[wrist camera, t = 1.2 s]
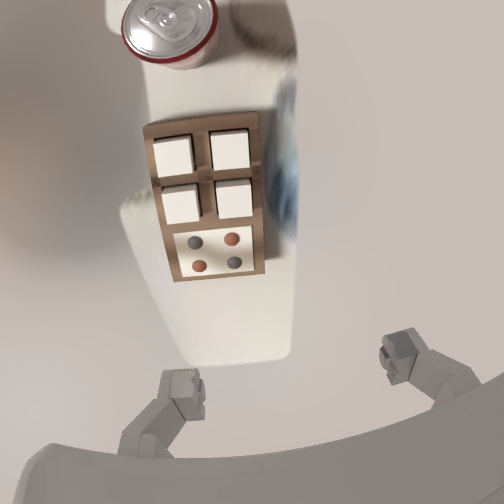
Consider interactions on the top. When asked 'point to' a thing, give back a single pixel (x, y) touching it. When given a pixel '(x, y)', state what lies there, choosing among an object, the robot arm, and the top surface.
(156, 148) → the button
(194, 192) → the button
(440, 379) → the robot arm
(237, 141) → the button
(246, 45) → the top surface
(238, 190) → the button
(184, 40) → the soda can
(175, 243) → the button board
